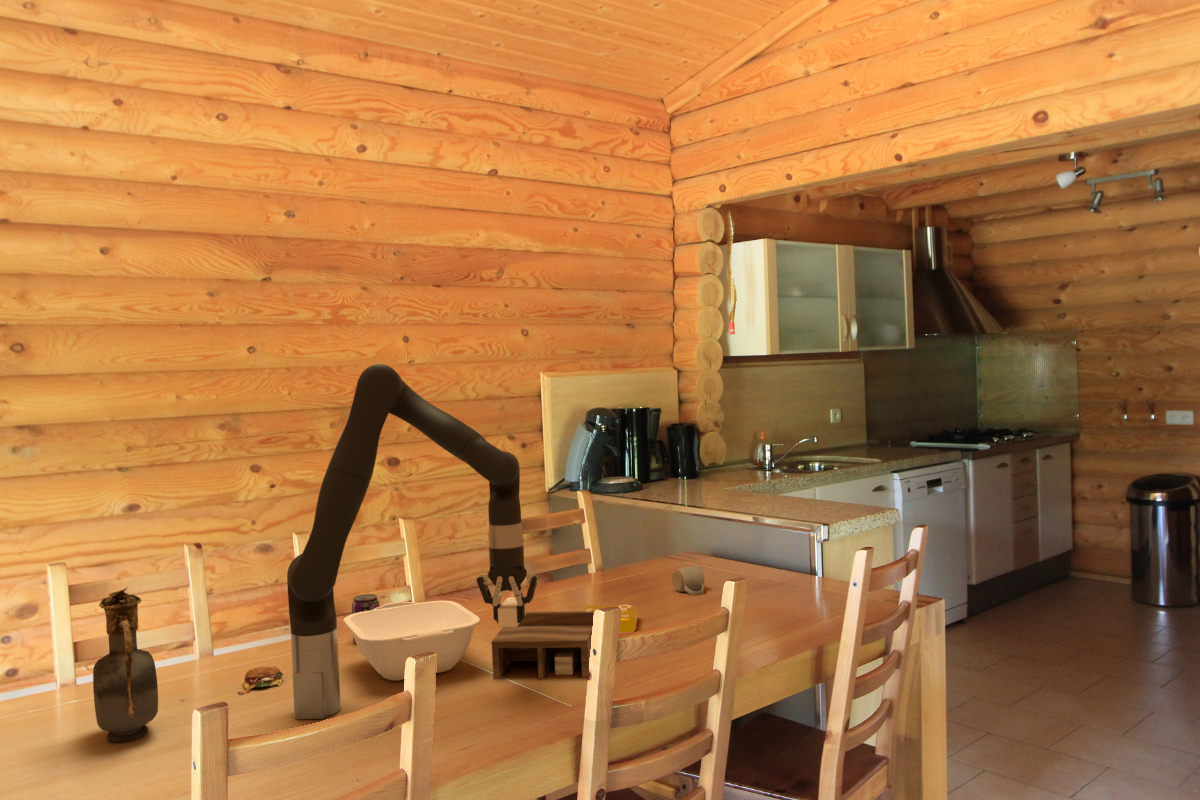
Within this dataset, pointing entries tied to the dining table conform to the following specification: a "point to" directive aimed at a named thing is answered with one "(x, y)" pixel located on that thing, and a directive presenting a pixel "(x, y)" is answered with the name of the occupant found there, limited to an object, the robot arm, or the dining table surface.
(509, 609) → the cream block
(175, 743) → the dining table surface
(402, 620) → the white plastic basin
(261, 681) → the hamburger
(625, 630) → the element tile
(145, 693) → the pitcher
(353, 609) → the beverage can
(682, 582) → the ceramic mug
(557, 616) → the walnut shelf
